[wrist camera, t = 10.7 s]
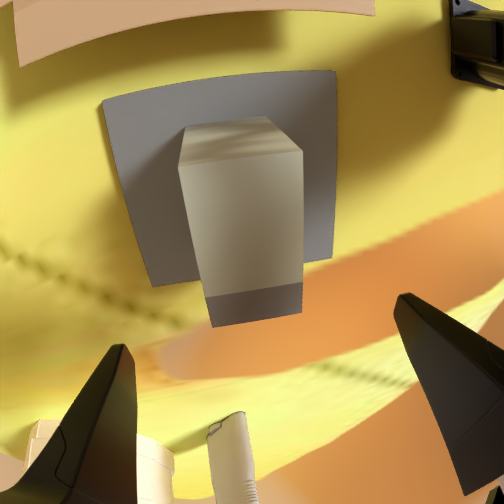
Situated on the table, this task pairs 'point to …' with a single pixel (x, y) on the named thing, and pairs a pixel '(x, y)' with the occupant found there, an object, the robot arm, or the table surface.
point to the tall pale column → (232, 461)
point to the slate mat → (213, 110)
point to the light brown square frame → (132, 18)
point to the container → (148, 463)
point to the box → (245, 217)
